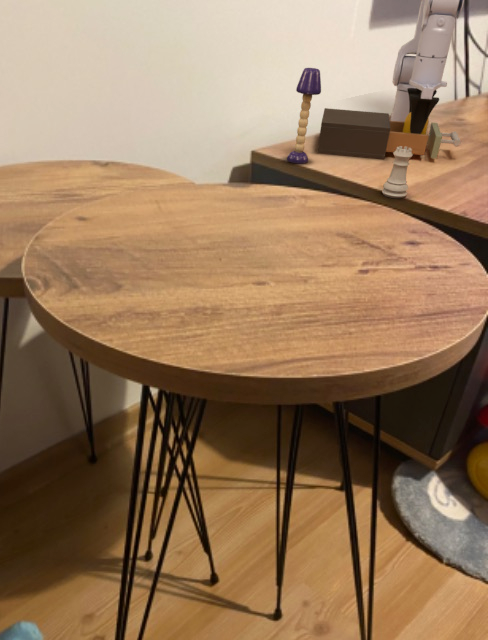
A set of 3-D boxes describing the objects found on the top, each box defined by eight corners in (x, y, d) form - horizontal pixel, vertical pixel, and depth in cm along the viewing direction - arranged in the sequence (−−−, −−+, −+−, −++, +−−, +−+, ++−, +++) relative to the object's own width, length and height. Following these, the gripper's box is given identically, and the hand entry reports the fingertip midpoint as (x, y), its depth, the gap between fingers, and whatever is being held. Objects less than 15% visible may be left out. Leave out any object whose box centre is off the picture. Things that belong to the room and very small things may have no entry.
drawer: (452, 145, 140) (458, 124, 137) (458, 160, 131) (464, 138, 128) (372, 138, 143) (377, 117, 140) (373, 153, 134) (377, 130, 131)
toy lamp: (297, 155, 133) (308, 65, 123) (315, 161, 131) (329, 69, 121) (282, 160, 131) (293, 68, 121) (300, 165, 128) (313, 72, 118)
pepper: (399, 140, 137) (407, 102, 133) (422, 142, 137) (431, 104, 132) (400, 146, 134) (408, 108, 129) (423, 148, 133) (432, 110, 129)
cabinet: (382, 143, 143) (388, 113, 140) (384, 159, 133) (390, 128, 130) (320, 137, 145) (324, 108, 142) (317, 153, 135) (321, 122, 132)
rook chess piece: (377, 190, 118) (387, 144, 113) (401, 190, 118) (412, 144, 113) (385, 199, 114) (395, 152, 109) (410, 199, 114) (421, 152, 110)
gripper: (457, 63, 119) (438, 141, 127) (449, 51, 131) (432, 123, 139) (417, 60, 120) (400, 137, 128) (413, 48, 132) (398, 120, 140)
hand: (414, 130), depth 133 cm, fingers closed on pepper, 4 cm apart
